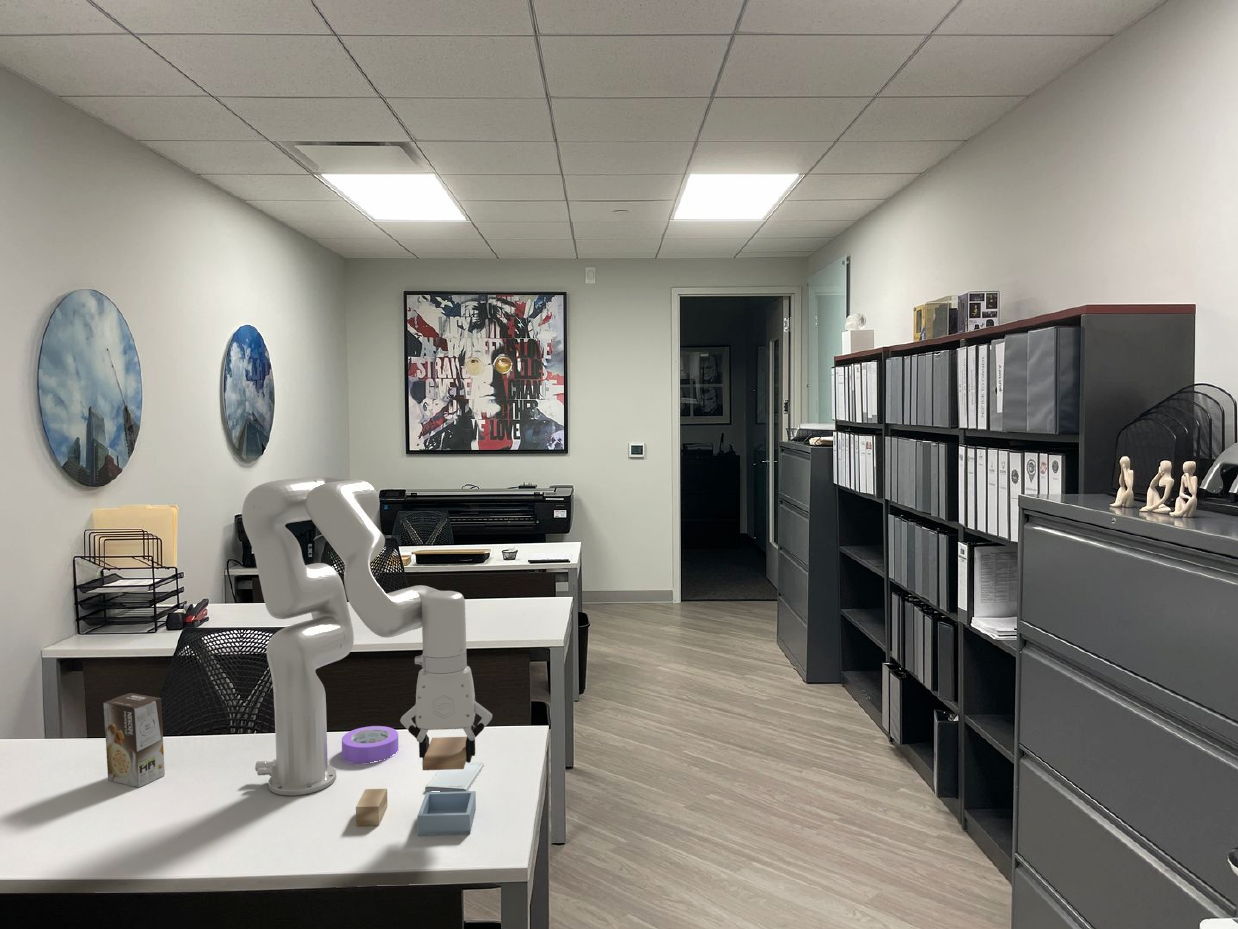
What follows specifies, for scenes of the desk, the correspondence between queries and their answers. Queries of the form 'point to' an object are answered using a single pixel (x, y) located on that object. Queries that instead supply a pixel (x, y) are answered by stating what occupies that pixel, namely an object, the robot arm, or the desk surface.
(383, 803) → the wooden block
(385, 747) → the masking tape
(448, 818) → the light blue open tray
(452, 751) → the lid
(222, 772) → the desk surface
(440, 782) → the hard drive
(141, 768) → the coffee box
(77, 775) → the desk surface
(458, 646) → the robot arm
